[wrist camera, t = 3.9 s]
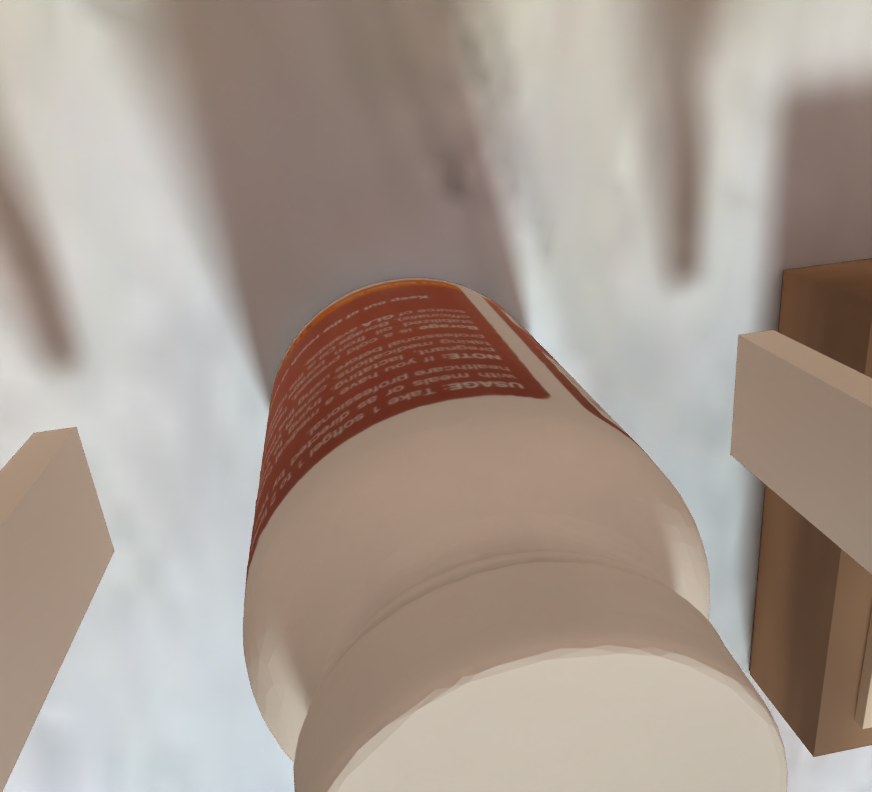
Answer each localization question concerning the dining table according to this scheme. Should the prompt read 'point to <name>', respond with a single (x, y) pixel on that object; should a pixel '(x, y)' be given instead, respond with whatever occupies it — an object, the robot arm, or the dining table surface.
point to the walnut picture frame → (817, 550)
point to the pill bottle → (479, 573)
